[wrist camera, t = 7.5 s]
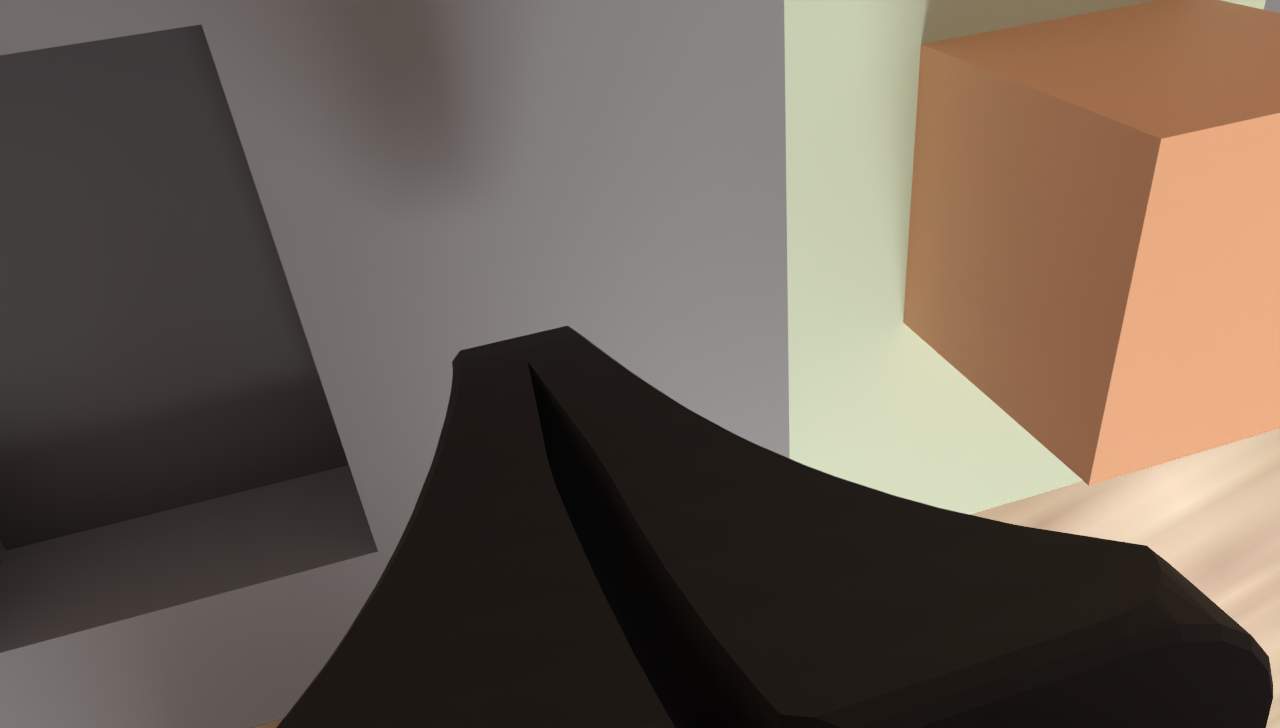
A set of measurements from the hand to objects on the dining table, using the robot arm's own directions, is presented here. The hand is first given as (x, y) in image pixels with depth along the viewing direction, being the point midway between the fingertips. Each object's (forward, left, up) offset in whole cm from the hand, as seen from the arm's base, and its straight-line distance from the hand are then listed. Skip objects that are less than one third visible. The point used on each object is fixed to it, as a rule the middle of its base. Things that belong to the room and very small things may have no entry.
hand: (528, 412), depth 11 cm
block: (0, -9, -3) cm, 9 cm away
